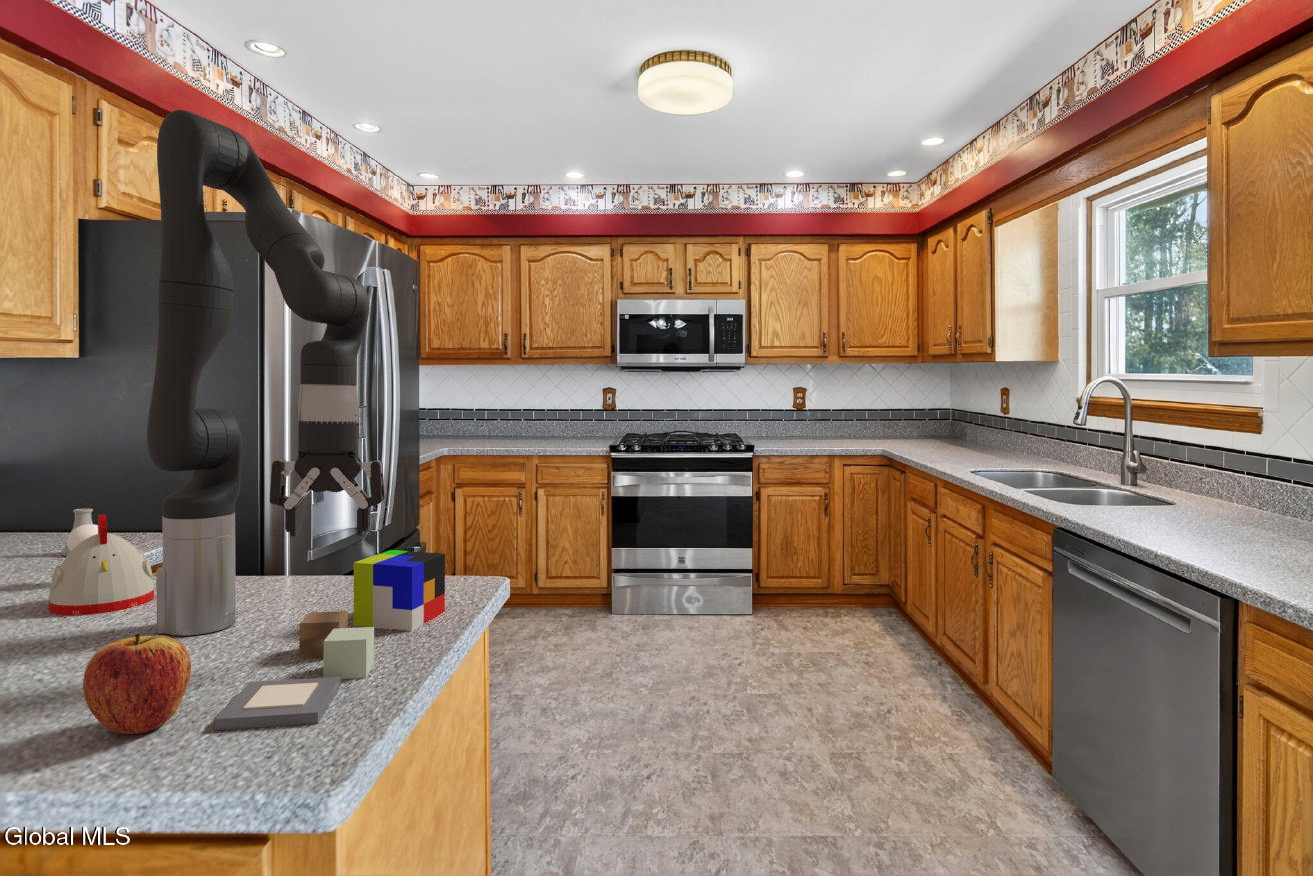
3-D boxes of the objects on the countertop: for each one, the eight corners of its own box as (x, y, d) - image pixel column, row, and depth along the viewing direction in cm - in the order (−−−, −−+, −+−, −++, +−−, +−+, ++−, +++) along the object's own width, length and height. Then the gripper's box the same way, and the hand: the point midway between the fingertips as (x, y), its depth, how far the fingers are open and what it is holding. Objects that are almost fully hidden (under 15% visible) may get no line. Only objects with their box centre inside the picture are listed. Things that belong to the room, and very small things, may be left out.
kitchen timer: (48, 621, 107) (46, 525, 106) (48, 601, 117) (47, 513, 117) (158, 605, 116) (157, 517, 116) (149, 588, 127) (148, 507, 126)
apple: (68, 755, 67) (66, 653, 67) (100, 716, 75) (98, 626, 75) (180, 739, 71) (179, 642, 70) (198, 704, 79) (197, 617, 79)
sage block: (323, 680, 86) (323, 641, 86) (333, 666, 91) (333, 628, 91) (366, 678, 87) (366, 639, 87) (373, 664, 92) (374, 627, 92)
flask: (53, 556, 150) (52, 511, 149) (85, 550, 157) (85, 506, 157) (81, 558, 149) (80, 512, 148) (113, 551, 156) (112, 507, 155)
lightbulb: (103, 577, 134) (102, 520, 133) (114, 582, 130) (113, 524, 130) (63, 583, 129) (62, 524, 128) (73, 588, 125) (72, 528, 125)
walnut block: (299, 659, 93) (299, 623, 93) (309, 647, 98) (309, 612, 98) (339, 657, 94) (339, 621, 94) (347, 645, 99) (347, 611, 99)
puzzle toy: (411, 631, 106) (412, 566, 105) (353, 626, 108) (353, 562, 107) (444, 613, 115) (445, 553, 115) (390, 608, 117) (390, 549, 117)
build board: (215, 730, 73) (215, 717, 73) (250, 691, 82) (250, 680, 82) (317, 723, 75) (317, 710, 75) (340, 686, 85) (340, 675, 84)
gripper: (262, 417, 90) (263, 541, 91) (378, 420, 93) (378, 539, 94) (281, 416, 98) (281, 531, 98) (388, 418, 101) (387, 529, 101)
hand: (328, 535), depth 96 cm, fingers open, 8 cm apart
